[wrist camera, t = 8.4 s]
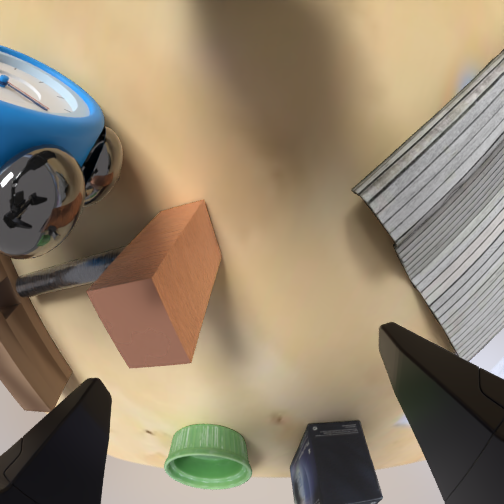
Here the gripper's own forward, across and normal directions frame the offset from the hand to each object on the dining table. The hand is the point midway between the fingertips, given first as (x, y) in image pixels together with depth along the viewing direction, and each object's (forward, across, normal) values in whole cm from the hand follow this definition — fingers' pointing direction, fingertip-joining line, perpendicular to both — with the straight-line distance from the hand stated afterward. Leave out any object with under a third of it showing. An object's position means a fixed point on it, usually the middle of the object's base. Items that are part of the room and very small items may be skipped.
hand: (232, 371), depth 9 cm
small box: (+13, -3, +28) cm, 31 cm away
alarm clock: (+6, +15, -17) cm, 23 cm away
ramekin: (+13, +9, +23) cm, 28 cm away
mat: (+14, -23, +3) cm, 27 cm away
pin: (+13, +10, 0) cm, 16 cm away
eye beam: (+13, +21, 0) cm, 25 cm away
